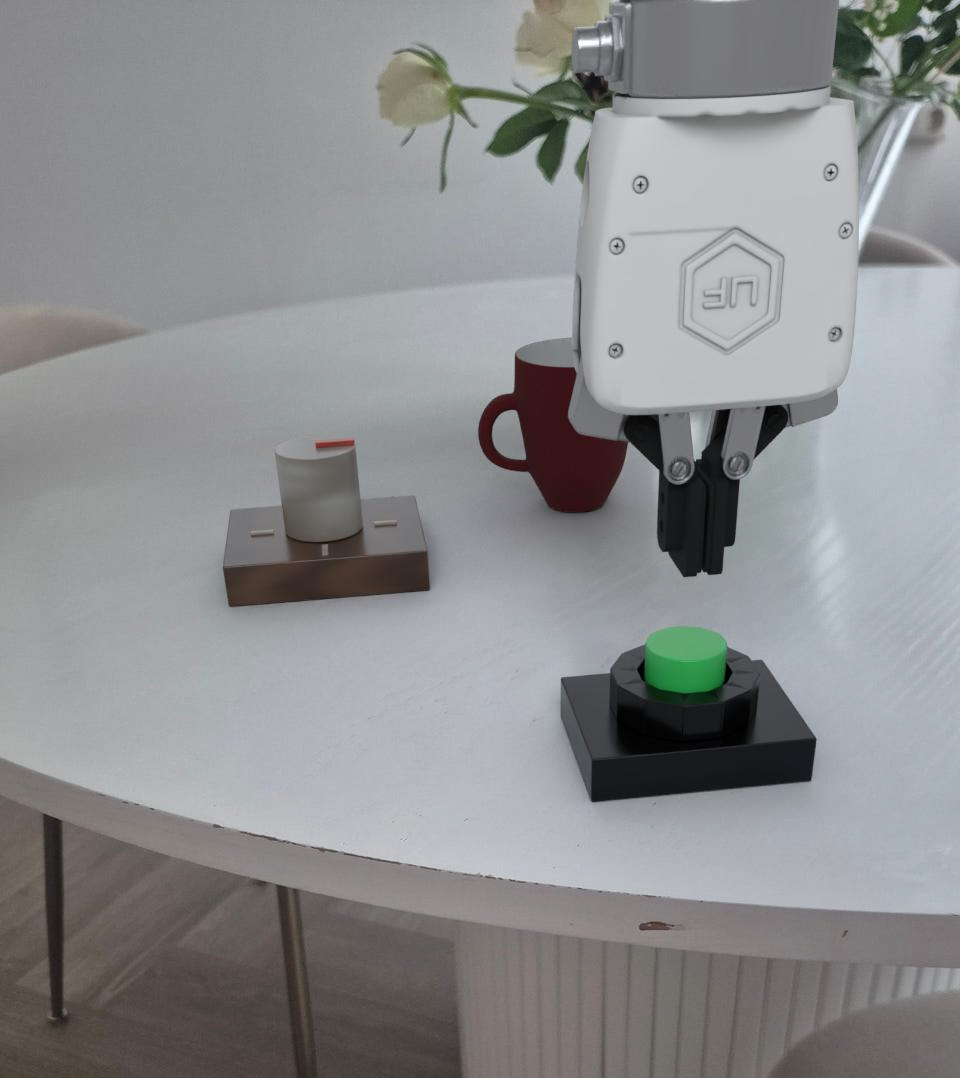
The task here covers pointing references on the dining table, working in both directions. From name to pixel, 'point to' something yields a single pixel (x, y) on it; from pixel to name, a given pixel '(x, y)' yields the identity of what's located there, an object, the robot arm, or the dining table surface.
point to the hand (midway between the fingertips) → (694, 563)
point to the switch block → (683, 731)
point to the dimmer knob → (319, 487)
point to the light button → (685, 659)
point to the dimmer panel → (325, 556)
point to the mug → (553, 432)
